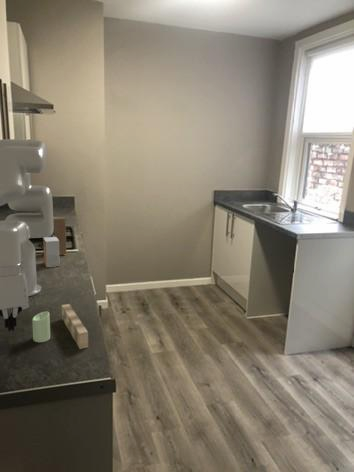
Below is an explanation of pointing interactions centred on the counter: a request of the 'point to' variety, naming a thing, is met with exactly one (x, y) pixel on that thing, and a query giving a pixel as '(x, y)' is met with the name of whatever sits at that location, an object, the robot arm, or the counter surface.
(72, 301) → the counter surface
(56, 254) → the small box
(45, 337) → the candle
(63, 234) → the decorative block
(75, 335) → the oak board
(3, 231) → the robot arm
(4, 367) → the counter surface
